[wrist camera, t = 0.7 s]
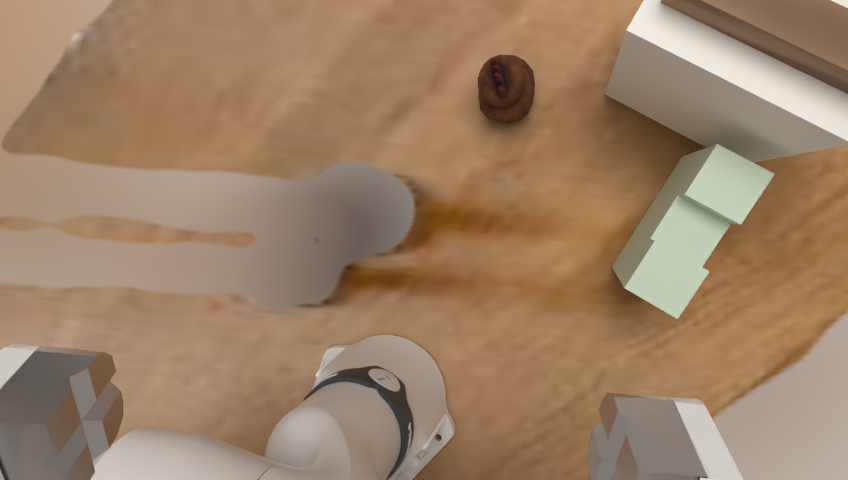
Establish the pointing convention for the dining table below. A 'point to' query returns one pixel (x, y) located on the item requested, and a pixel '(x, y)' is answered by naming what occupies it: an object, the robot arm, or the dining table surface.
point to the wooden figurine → (506, 88)
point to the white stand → (723, 89)
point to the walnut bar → (783, 31)
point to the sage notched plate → (688, 225)
